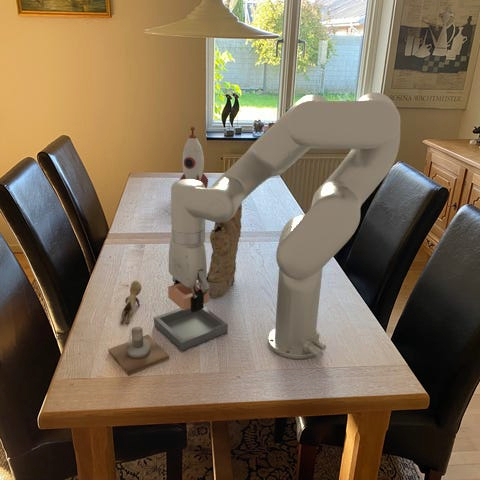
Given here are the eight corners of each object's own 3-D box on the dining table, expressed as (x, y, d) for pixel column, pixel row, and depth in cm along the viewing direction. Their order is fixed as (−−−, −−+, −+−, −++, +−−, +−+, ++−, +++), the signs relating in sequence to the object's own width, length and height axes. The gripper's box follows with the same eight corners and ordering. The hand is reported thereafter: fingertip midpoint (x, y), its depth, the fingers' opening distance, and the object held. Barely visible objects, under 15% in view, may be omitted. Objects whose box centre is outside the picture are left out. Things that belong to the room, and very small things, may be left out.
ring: (183, 310, 113) (183, 299, 112) (168, 297, 118) (168, 286, 117) (208, 301, 117) (209, 290, 116) (193, 289, 122) (193, 279, 121)
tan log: (203, 282, 144) (202, 183, 132) (238, 281, 145) (241, 183, 133) (206, 307, 131) (205, 200, 119) (244, 305, 132) (248, 199, 121)
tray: (227, 333, 120) (227, 324, 119) (181, 352, 113) (181, 342, 112) (198, 310, 130) (198, 301, 129) (154, 326, 122) (153, 317, 121)
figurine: (132, 331, 124) (144, 290, 136) (130, 318, 121) (142, 278, 133) (118, 330, 124) (131, 290, 136) (115, 317, 121) (128, 277, 133)
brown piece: (169, 359, 110) (168, 332, 108) (128, 376, 105) (125, 348, 102) (148, 337, 118) (146, 312, 115) (108, 352, 112) (106, 326, 109)
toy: (177, 197, 214) (175, 127, 202) (186, 190, 223) (185, 123, 211) (201, 200, 211) (200, 129, 199) (209, 193, 220) (209, 125, 208)
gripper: (154, 225, 115) (156, 292, 122) (195, 252, 103) (194, 324, 110) (182, 219, 119) (182, 284, 127) (224, 244, 107) (222, 314, 114)
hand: (188, 302), depth 118 cm, fingers closed on ring, 7 cm apart
